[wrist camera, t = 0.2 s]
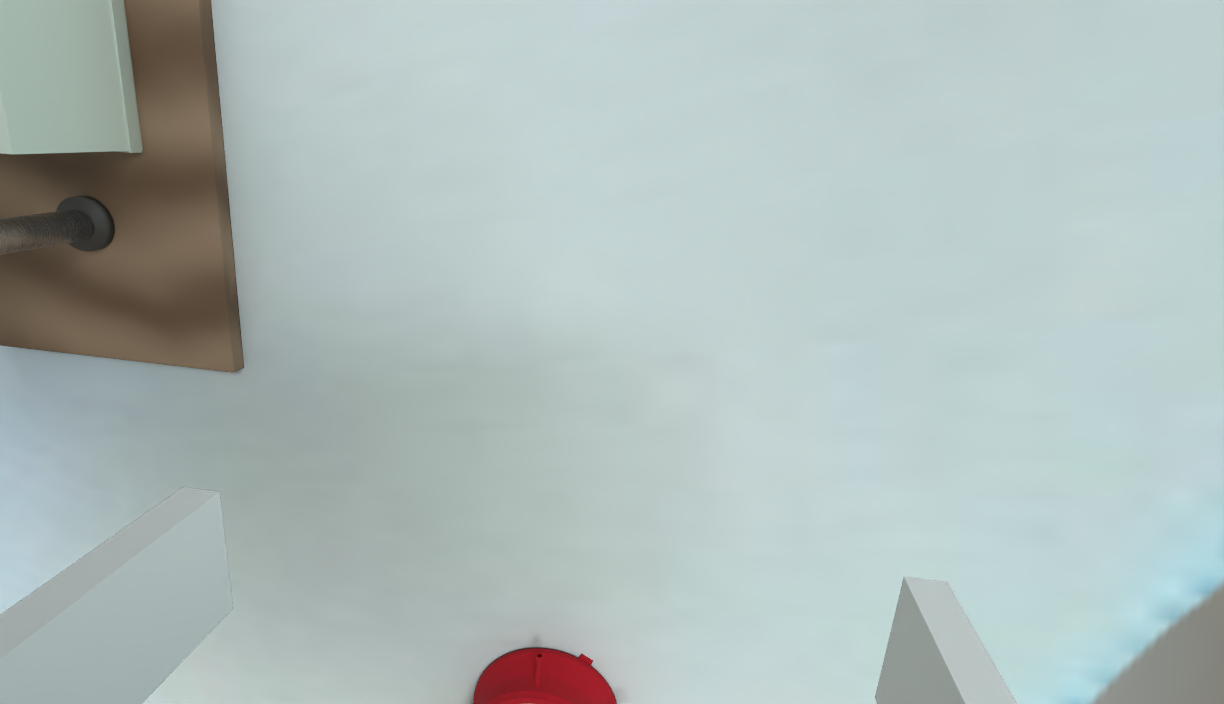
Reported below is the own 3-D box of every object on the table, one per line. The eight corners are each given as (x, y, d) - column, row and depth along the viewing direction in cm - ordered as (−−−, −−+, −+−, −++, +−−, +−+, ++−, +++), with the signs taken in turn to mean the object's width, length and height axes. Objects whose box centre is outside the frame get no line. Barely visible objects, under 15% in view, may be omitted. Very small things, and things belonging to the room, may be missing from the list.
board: (-80, -78, 38) (-111, -86, 36) (205, -59, 37) (184, -67, 35) (4, 339, 45) (-20, 346, 44) (243, 367, 44) (227, 375, 42)
